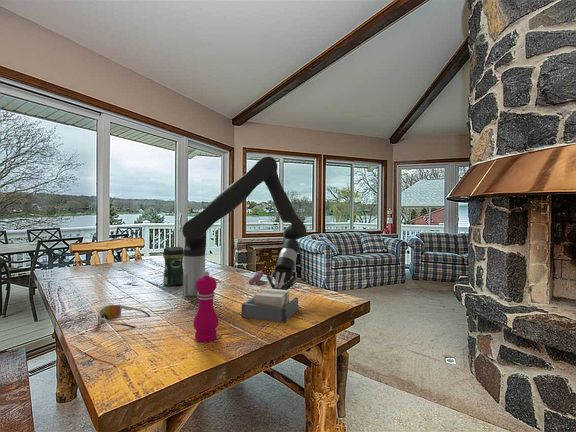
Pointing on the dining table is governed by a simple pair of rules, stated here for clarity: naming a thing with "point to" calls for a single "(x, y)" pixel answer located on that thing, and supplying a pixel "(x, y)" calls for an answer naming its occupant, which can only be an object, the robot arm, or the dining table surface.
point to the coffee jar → (173, 266)
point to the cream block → (272, 297)
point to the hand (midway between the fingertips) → (275, 298)
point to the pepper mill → (206, 309)
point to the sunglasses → (114, 314)
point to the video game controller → (256, 277)
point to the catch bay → (269, 311)
